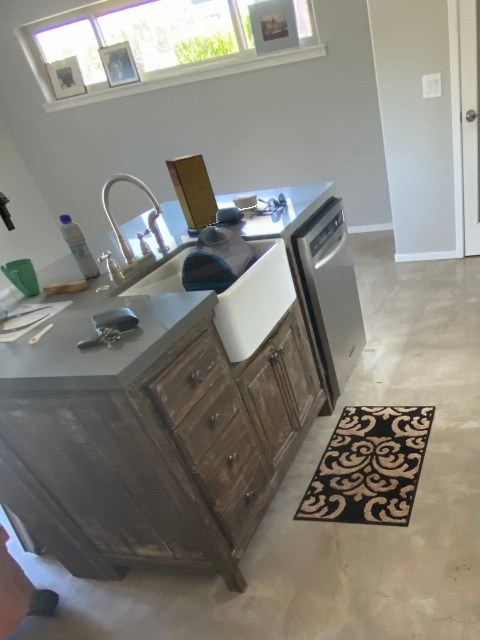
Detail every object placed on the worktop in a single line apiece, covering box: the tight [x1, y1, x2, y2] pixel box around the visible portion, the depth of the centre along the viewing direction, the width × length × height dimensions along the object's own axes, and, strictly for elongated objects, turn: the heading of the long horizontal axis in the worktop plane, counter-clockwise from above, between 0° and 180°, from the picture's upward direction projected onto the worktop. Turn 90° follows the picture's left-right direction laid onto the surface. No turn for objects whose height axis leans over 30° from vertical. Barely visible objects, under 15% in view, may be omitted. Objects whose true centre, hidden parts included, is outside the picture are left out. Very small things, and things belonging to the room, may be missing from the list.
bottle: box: [59, 213, 101, 279], centre depth 179 cm, size 7×7×20 cm
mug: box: [0, 258, 41, 297], centre depth 174 cm, size 15×10×10 cm
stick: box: [42, 279, 89, 296], centre depth 175 cm, size 14×3×2 cm, turn 89°
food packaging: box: [164, 153, 220, 231], centre depth 218 cm, size 13×9×25 cm
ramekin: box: [231, 192, 258, 212], centre depth 238 cm, size 11×11×5 cm
